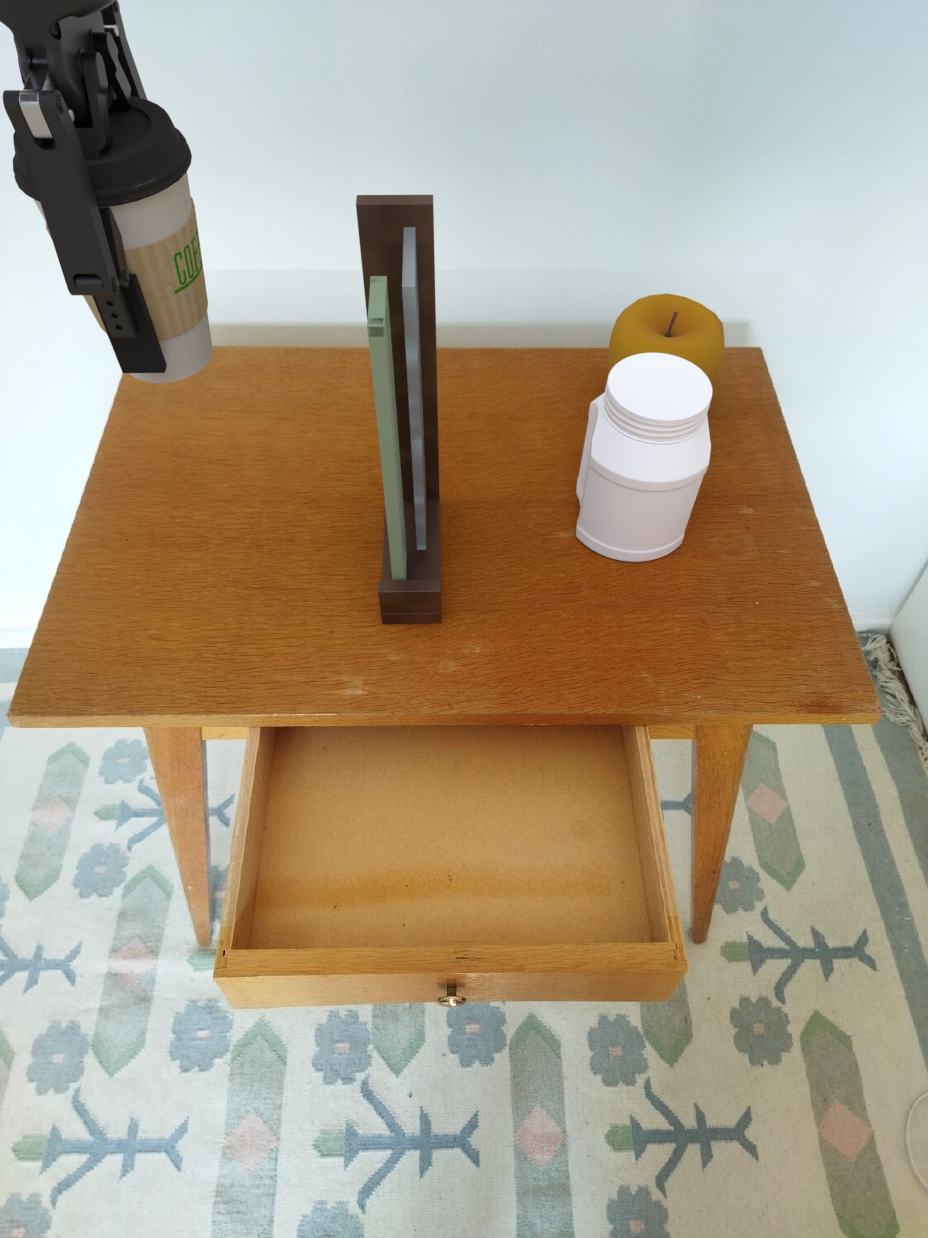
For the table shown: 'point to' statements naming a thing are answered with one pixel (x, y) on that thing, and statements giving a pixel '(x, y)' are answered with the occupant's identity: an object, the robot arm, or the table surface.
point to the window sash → (387, 421)
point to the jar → (644, 457)
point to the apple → (669, 332)
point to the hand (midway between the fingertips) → (158, 325)
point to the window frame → (409, 391)
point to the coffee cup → (151, 229)
